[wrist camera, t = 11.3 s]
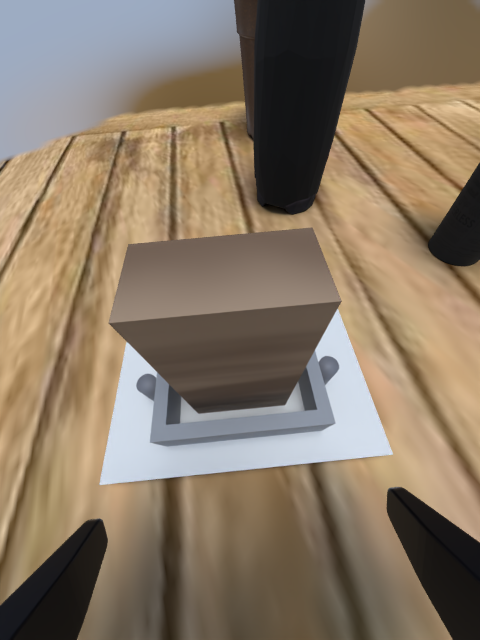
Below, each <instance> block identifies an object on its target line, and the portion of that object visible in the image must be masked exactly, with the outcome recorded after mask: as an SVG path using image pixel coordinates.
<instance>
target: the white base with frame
mask: <svg viewBox="0 0 480 640" xmlns="http://www.w3.org/2000/svg"><path fill="white" fill-rule="evenodd" d="M383 455H393V453H392V450H391V448H390V445H389V443H388V440H387V437H386V435H385V432H384V429H383V427H382V424H381V421H380V419H379V416H378V414H377V411H376V408H375V406H374V403H373V400H372V398H371V395H370V392H369V390H368V387H367V385H366V382H365V379H364V377H363V374H362V371H361V369H360V366H359V363H358V361H357V358H356V356H355V353H354V350H353V348H352V345H351V342H350V340H349V337H348V335H347V332H346V329H345V327H344V324H343V321H342V319H341V316H340V313H339V311H338V309H337V311H336V312H335V314H334V316H333V318H332V320H331V322H330V323H329V325H328V327H327V329H326V331H325V333H324V334H323V336H322V338H321V340H320V342H319V344H318V346H317V347H316V349H315V351H314V353H313V355H312V357H311V358H310V360H309V362H308V364H307V366H306V368H305V369H304V371H303V373H302V375H301V377H300V379H299V381H298V382H297V384H296V386H295V388H294V390H293V392H292V393H291V395H290V397H289V399H288V401H287V403H286V405H283V406H273V407H263V408H253V409H243V410H232V411H222V412H212V413H202V414H198V413H197V412H196V411H195V410H194V409H193V408H192V407H191V406H190V405H189V404H188V403H187V402H186V401H185V400H184V399H183V398H182V397H181V396H180V395H179V394H178V393H177V392H176V391H175V390H174V389H173V388H172V387H171V386H170V385H169V384H168V383H167V382H166V381H165V380H164V379H163V378H162V377H161V376H160V375H159V374H158V373H157V372H156V371H155V370H154V369H153V367H152V366H151V365H150V364H149V363H148V362H147V361H146V360H145V359H144V358H143V357H142V356H141V355H140V354H139V353H138V352H137V351H136V350H135V349H134V348H133V347H132V346H131V345H130V344H129V343H128V342H127V343H126V348H125V353H124V358H123V364H122V369H121V374H120V379H119V385H118V390H117V395H116V400H115V406H114V411H113V416H112V421H111V427H110V432H109V437H108V442H107V448H106V453H105V458H104V463H103V468H102V474H101V479H100V484H99V485H105V484H114V483H124V482H134V481H143V480H153V479H162V478H172V477H182V476H191V475H201V474H210V473H220V472H230V471H239V470H249V469H258V468H268V467H278V466H287V465H297V464H306V463H316V462H326V461H335V460H345V459H354V458H364V457H374V456H383Z"/></svg>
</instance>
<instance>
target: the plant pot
mask: <svg viewBox="0 0 480 640" xmlns="http://www.w3.org/2000/svg"><path fill="white" fill-rule="evenodd" d="M257 2H258V0H234V4H235V14H236V24H237V33H238V34H239V36H240V46H241V57H242V69H243V80H244V92H245V106H246V119H247V132H248V135H251V136H252V138H253V139H254V42H255V29H256V15H257Z"/></svg>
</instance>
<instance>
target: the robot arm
mask: <svg viewBox="0 0 480 640" xmlns="http://www.w3.org/2000/svg"><path fill="white" fill-rule="evenodd" d="M387 513H388V516H389V518H390V521H391V523H392V525H393V527H394V529H395V531H396V533H397V535H398V537H399V539H400V541H401V543H402V545H403V548H404V550H405V552H406V554H407V556H408V558H409V560H410V562H411V564H412V566H413V568H414V570H415V572H416V574H417V576H418V578H419V580H420V582H421V584H422V586H423V588H424V590H425V591H426V593H427V595H428V597H429V599H430V600H431V602H432V604H433V606H434V607H435V609H436V611H437V613H438V614H439V616H440V618H441V620H442V621H443V623H444V625H445V627H446V628H447V630H448V632H449V634H450V635H451V637H452V639H453V640H480V542H478V541H477V540H476V539H474V538H473V537H471V536H470V535H469V534H467V533H466V532H464V531H463V530H462V529H460V528H459V527H457V526H456V525H455V524H453V523H452V522H450V521H449V520H448V519H446V518H445V517H443V516H442V515H441V514H439V513H438V512H436V511H435V510H434V509H432V508H431V507H429V506H428V505H427V504H425V503H424V502H422V501H421V500H420V499H418V498H417V497H415V496H414V495H413V494H411V493H410V492H408V491H407V490H406V489H404V488H402V487H394V488H389V489H388V492H387ZM107 543H108V538H107V534H106V530H105V527H104V523H103V520H102V519H91V520H88V521H86V522H85V523H84V524H83V525H82V526H81V527H80V528H79V529H78V530H77V531H76V532H75V533H74V534H73V535H71V536H70V537H69V538H68V539H67V540H66V541H65V542H64V543H63V544H62V545H61V546H60V547H59V548H58V549H57V550H56V551H55V552H54V553H53V554H52V555H51V556H50V557H49V558H48V559H47V560H46V561H45V562H44V563H43V564H42V565H41V566H40V567H39V568H38V569H37V570H36V571H35V572H34V573H33V574H32V575H31V576H30V577H29V578H28V579H27V580H26V581H25V582H24V583H23V584H22V585H21V586H20V587H19V588H18V589H17V590H16V591H15V592H14V593H12V594H11V595H10V596H9V597H8V598H7V599H6V600H5V601H4V602H3V603H2V604H1V605H0V640H77V637H78V635H79V632H80V630H81V627H82V624H83V621H84V618H85V615H86V612H87V609H88V606H89V603H90V600H91V597H92V593H93V590H94V587H95V584H96V581H97V577H98V574H99V571H100V568H101V564H102V561H103V558H104V555H105V552H106V548H107Z"/></svg>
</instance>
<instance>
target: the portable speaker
mask: <svg viewBox="0 0 480 640" xmlns="http://www.w3.org/2000/svg"><path fill="white" fill-rule="evenodd" d="M364 4H365V0H258V2H257V15H256V29H255V42H254V169H255V173H256V174H255V178H256V186H257V199H258V202H259V203H260V204H261V206H264V205H266V204H270V205H274V206H277V207H281V208H284V209H286V210H287V212H288V213H290V214H296V213H299V212H302V211H305V210H307V209H308V208H309V207H310V206H311V205H312V204H313V201H314V199H315V195H316V194H317V192H318V188H319V185H320V182H321V178H322V175H323V172H324V168H325V165H326V162H327V159H328V156H329V152H330V149H331V145H332V142H333V138H334V134H335V130H336V127H337V123H338V119H339V115H340V111H341V107H342V103H343V99H344V95H345V91H346V87H347V83H348V79H349V76H350V72H351V68H352V64H353V60H354V56H355V52H356V48H357V43H358V37H359V32H360V26H361V21H362V16H363V10H364Z"/></svg>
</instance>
